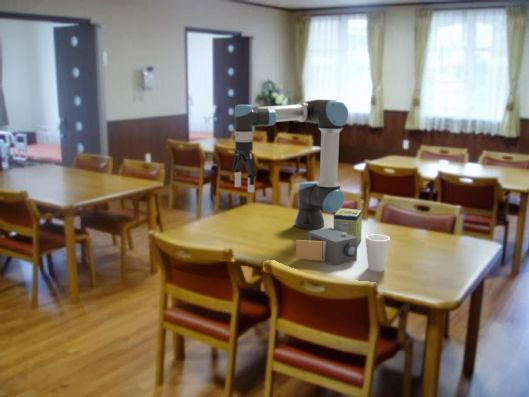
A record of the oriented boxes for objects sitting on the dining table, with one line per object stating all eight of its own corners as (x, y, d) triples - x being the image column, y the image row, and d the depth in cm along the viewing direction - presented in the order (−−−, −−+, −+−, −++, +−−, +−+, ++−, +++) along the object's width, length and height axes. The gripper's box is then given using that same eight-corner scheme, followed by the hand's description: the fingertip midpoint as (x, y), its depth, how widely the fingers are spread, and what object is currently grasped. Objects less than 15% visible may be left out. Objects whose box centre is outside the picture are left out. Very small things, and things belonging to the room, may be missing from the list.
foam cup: (362, 265, 221) (363, 234, 218) (384, 264, 222) (385, 234, 219) (368, 273, 212) (369, 241, 209) (391, 272, 213) (393, 240, 210)
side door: (296, 257, 227) (296, 239, 225) (325, 259, 224) (325, 241, 222) (296, 258, 226) (296, 240, 224) (325, 260, 223) (325, 242, 221)
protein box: (361, 241, 254) (362, 209, 250) (355, 250, 239) (356, 217, 236) (339, 239, 257) (340, 207, 254) (332, 248, 243) (333, 215, 239)
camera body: (329, 249, 242) (330, 225, 239) (359, 261, 225) (360, 236, 223) (307, 253, 235) (308, 229, 233) (337, 266, 219) (337, 240, 216)
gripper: (224, 138, 242) (225, 185, 246) (248, 144, 220) (248, 195, 225) (239, 137, 245) (240, 183, 250) (264, 143, 223) (264, 193, 228)
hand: (244, 189), depth 237 cm, fingers open, 13 cm apart
